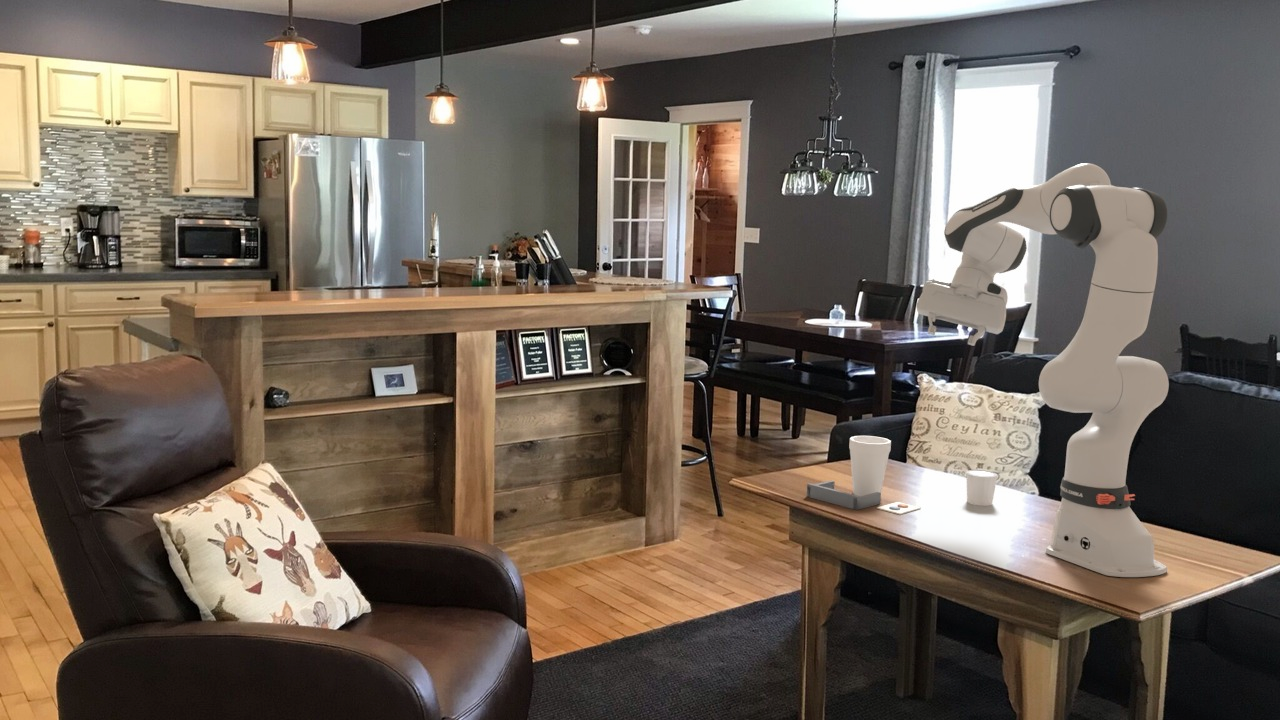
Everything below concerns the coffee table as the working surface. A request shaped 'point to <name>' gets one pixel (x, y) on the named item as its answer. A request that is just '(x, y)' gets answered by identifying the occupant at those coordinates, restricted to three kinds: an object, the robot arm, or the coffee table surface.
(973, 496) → the shot glass
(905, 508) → the card
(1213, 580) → the coffee table surface
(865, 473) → the foam cup
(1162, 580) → the coffee table surface
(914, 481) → the coffee table surface
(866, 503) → the grey cup holder
